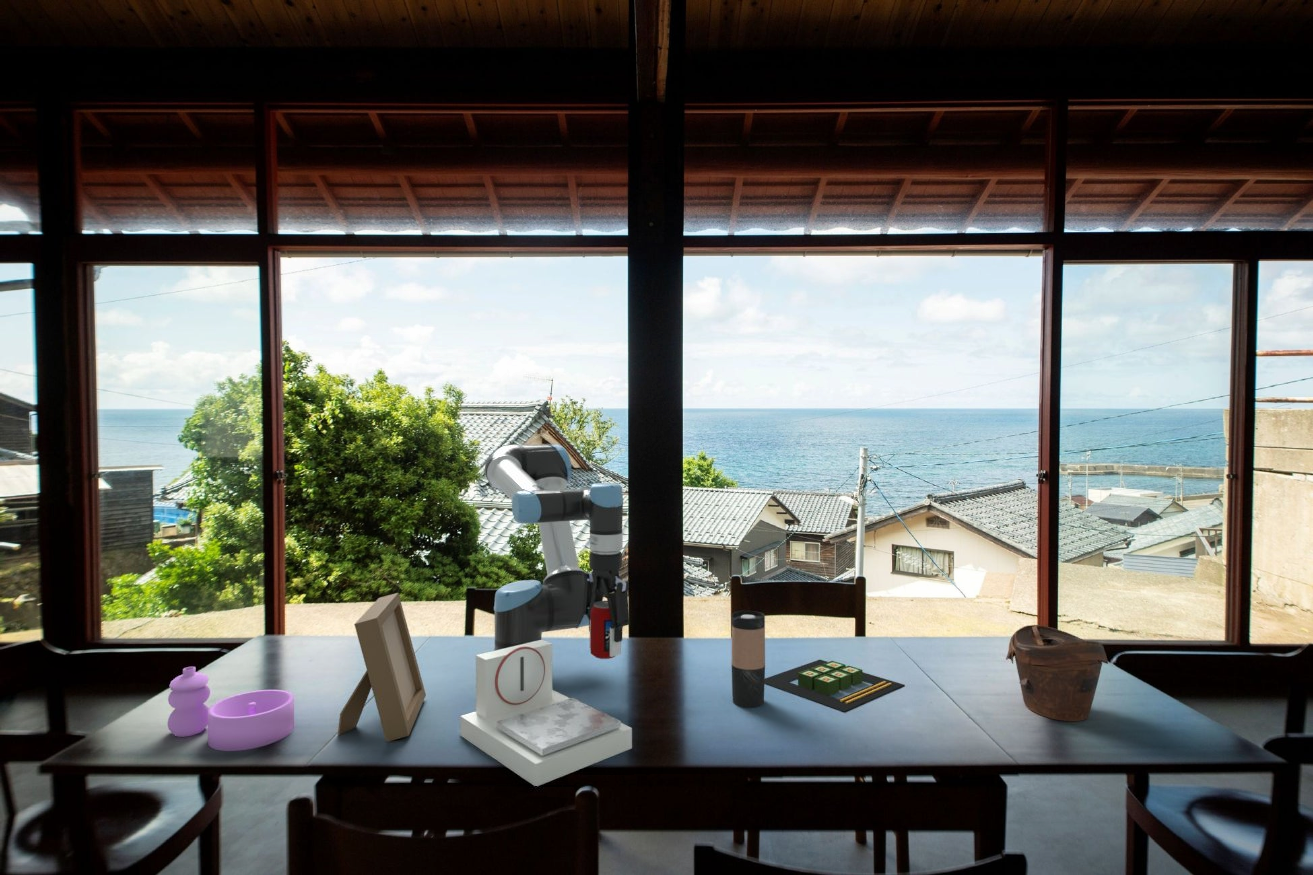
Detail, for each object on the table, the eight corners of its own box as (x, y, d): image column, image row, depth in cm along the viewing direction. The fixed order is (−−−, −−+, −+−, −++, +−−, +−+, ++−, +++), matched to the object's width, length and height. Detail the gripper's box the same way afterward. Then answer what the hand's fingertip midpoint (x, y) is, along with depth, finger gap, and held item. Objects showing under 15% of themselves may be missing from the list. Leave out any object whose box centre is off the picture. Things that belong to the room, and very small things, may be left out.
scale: (460, 735, 144) (460, 652, 143) (550, 706, 158) (550, 631, 158) (535, 786, 123) (535, 690, 123) (631, 748, 138) (631, 662, 138)
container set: (309, 720, 151) (308, 659, 151) (263, 752, 136) (263, 684, 136) (199, 716, 154) (199, 656, 153) (142, 747, 138) (142, 680, 138)
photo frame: (426, 699, 163) (423, 591, 162) (408, 740, 141) (406, 616, 141) (358, 704, 160) (356, 594, 160) (330, 746, 139) (327, 620, 138)
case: (1020, 686, 171) (1021, 613, 170) (1117, 710, 156) (1118, 630, 156) (992, 708, 158) (993, 629, 158) (1094, 736, 144) (1095, 649, 143)
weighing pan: (496, 727, 137) (496, 721, 137) (572, 703, 149) (572, 697, 149) (542, 755, 125) (542, 748, 125) (620, 726, 137) (620, 720, 137)
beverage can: (615, 661, 158) (615, 608, 157) (586, 659, 159) (586, 606, 159) (623, 651, 164) (623, 600, 164) (595, 649, 166) (595, 598, 165)
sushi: (844, 715, 155) (844, 698, 155) (758, 684, 174) (758, 669, 174) (904, 688, 172) (904, 673, 171) (819, 662, 191) (819, 648, 190)
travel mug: (769, 698, 163) (769, 612, 163) (759, 710, 156) (759, 620, 156) (737, 693, 166) (737, 608, 166) (726, 704, 160) (726, 616, 159)
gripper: (567, 547, 166) (566, 643, 166) (620, 560, 151) (619, 666, 152) (592, 543, 171) (592, 637, 172) (646, 555, 156) (645, 658, 157)
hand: (605, 650), depth 162 cm, fingers closed on beverage can, 7 cm apart
